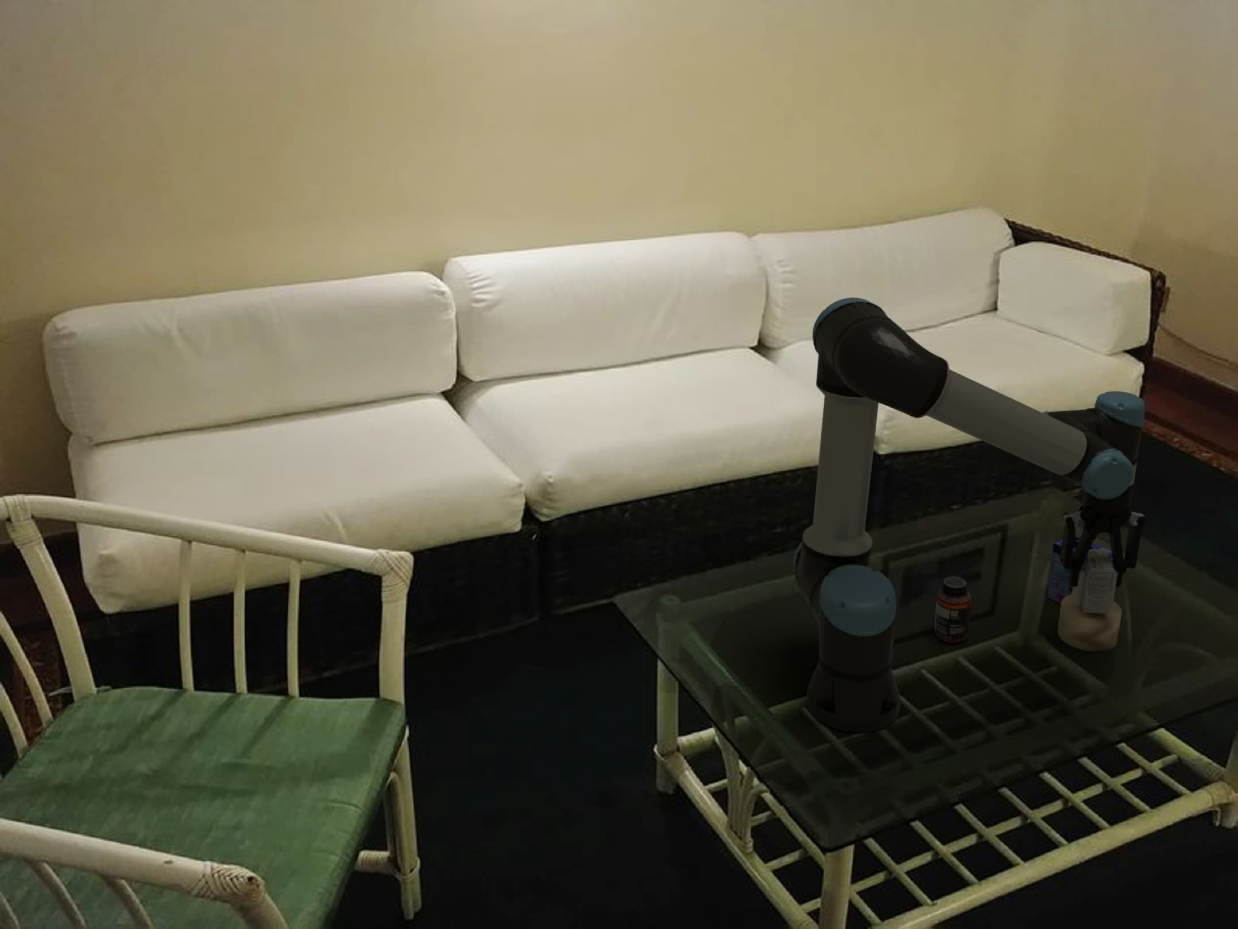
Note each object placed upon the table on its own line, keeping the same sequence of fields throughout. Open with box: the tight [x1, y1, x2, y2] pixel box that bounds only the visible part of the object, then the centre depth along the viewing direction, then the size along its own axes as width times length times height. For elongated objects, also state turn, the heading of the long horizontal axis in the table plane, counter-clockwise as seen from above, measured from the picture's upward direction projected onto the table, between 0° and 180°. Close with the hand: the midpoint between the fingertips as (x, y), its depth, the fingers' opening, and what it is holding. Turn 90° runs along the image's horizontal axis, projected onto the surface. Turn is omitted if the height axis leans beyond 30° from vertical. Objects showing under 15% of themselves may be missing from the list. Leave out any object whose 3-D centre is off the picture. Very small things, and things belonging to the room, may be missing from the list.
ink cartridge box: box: [1046, 535, 1114, 604], centre depth 210 cm, size 10×6×14 cm, turn 38°
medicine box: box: [1081, 549, 1115, 614], centre depth 198 cm, size 8×4×9 cm, turn 169°
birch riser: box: [1057, 594, 1123, 652], centre depth 202 cm, size 10×10×6 cm
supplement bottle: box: [934, 575, 972, 644], centre depth 203 cm, size 6×6×11 cm
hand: (1091, 600), depth 200 cm, fingers closed on medicine box, 5 cm apart
